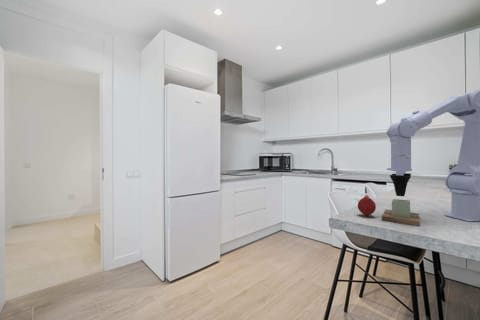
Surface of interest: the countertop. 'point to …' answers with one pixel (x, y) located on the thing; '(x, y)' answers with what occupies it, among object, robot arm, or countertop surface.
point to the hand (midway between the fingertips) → (400, 194)
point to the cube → (401, 208)
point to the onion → (366, 206)
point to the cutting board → (401, 218)
